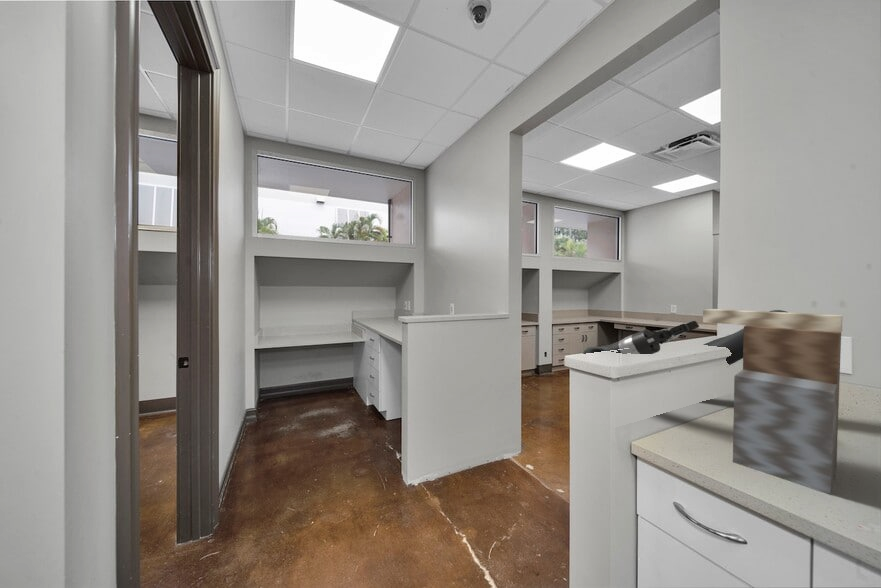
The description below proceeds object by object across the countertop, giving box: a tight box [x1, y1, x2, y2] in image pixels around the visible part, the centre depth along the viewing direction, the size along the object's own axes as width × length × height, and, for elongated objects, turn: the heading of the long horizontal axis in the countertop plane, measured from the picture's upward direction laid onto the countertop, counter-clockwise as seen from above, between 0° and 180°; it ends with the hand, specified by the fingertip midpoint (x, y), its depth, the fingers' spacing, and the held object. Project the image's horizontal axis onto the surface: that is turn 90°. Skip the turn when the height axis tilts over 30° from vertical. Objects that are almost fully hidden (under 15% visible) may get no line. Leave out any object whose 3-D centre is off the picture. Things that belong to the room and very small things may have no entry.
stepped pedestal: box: [732, 325, 842, 495], centre depth 75 cm, size 15×16×32 cm
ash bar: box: [702, 308, 844, 334], centre depth 80 cm, size 24×4×4 cm, turn 36°
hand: (692, 325), depth 92 cm, fingers open, 8 cm apart
